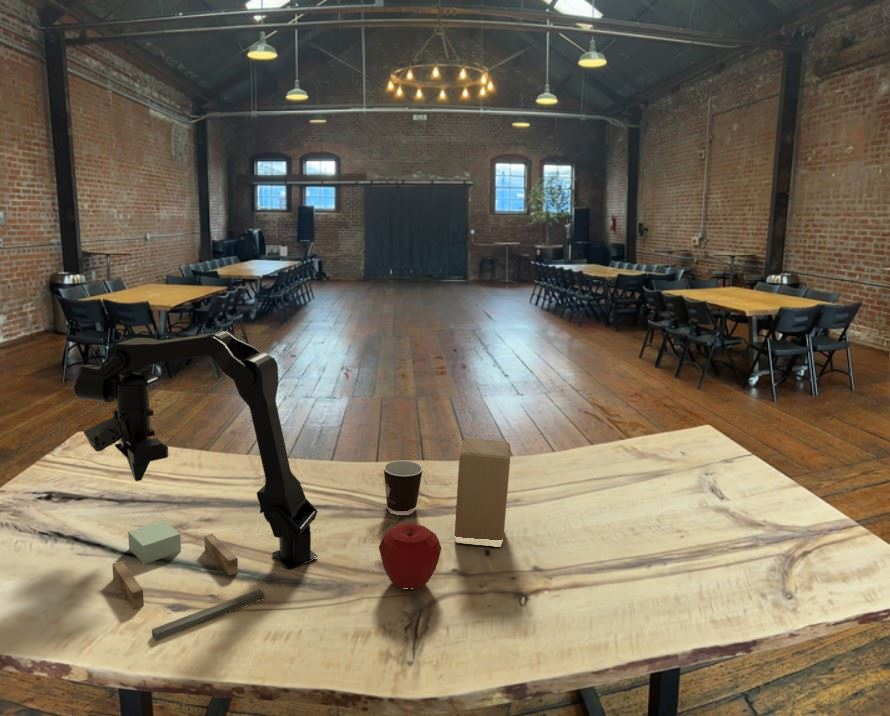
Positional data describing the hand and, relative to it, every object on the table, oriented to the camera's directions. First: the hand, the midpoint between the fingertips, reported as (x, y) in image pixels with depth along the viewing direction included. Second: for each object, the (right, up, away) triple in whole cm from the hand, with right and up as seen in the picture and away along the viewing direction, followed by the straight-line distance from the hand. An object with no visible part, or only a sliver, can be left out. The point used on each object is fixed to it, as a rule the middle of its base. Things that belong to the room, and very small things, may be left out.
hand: (138, 480), depth 133 cm
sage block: (+5, -13, -3) cm, 14 cm away
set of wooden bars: (+15, -16, -14) cm, 27 cm away
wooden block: (+68, -14, +9) cm, 70 cm away
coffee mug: (+51, -10, +20) cm, 55 cm away
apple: (+54, -17, -9) cm, 57 cm away
